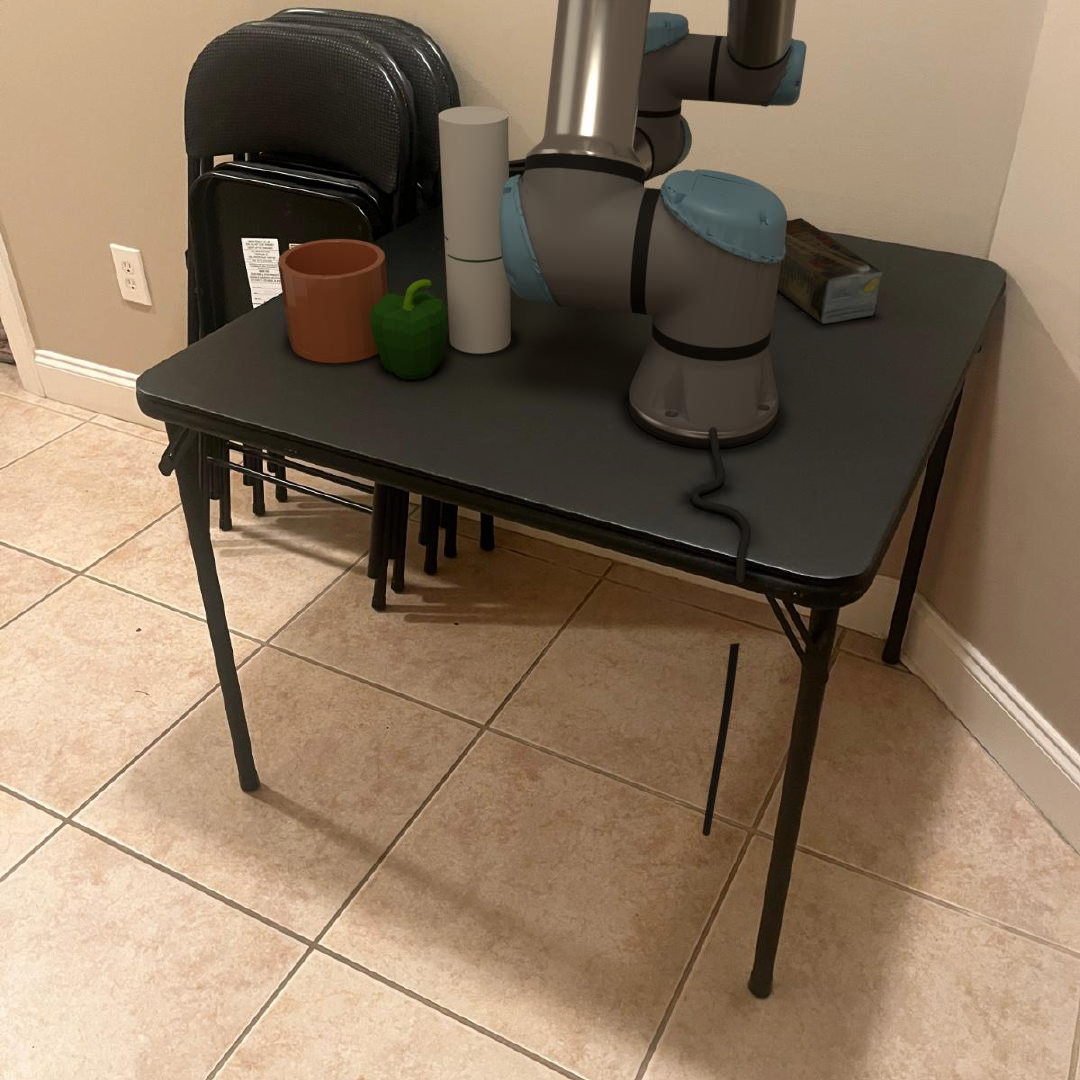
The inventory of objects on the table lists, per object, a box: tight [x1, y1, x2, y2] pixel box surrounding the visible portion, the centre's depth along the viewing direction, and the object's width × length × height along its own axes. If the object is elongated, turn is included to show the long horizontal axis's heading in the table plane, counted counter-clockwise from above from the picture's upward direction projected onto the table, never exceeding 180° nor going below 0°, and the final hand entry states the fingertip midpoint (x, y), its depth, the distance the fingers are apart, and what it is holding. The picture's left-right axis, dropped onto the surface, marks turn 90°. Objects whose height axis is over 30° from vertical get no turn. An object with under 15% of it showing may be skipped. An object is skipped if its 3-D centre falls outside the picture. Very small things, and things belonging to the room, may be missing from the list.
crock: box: [277, 238, 389, 364], centre depth 116 cm, size 12×12×10 cm
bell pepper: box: [370, 278, 449, 380], centre depth 110 cm, size 8×8×10 cm
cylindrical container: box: [438, 105, 512, 354], centre depth 112 cm, size 7×7×25 cm
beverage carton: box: [777, 217, 883, 325], centre depth 129 cm, size 8×19×7 cm, turn 19°
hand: (503, 210), depth 114 cm, fingers open, 13 cm apart
